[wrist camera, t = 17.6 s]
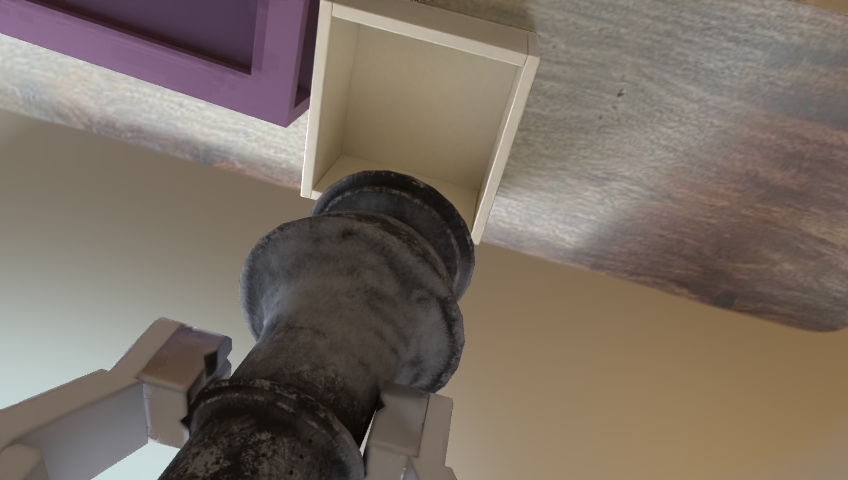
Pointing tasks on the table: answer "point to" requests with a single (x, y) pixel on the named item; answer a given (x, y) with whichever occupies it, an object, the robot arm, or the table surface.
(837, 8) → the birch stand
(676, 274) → the table surface
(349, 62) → the cream bin
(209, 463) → the chess bishop
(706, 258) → the table surface
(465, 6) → the table surface
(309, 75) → the book
